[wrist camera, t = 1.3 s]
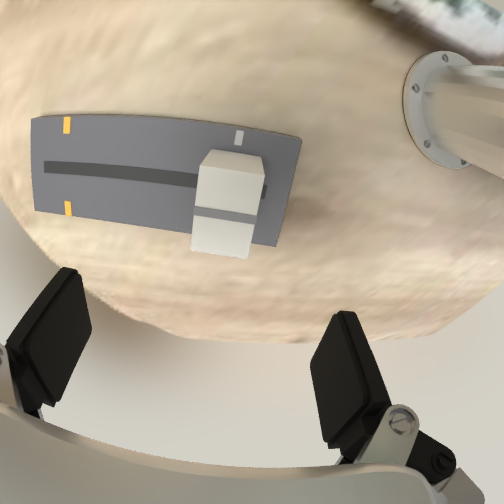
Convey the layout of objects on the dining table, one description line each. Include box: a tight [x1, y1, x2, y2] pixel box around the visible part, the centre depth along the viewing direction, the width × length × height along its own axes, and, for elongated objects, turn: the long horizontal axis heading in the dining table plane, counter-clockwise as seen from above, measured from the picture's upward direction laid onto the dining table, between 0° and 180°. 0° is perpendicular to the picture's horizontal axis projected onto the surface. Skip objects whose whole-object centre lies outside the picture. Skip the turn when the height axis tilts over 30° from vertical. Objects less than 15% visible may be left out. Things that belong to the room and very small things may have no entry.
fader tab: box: [190, 149, 265, 259], centre depth 21 cm, size 4×6×6 cm
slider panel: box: [31, 114, 302, 247], centre depth 24 cm, size 26×10×2 cm, turn 80°
